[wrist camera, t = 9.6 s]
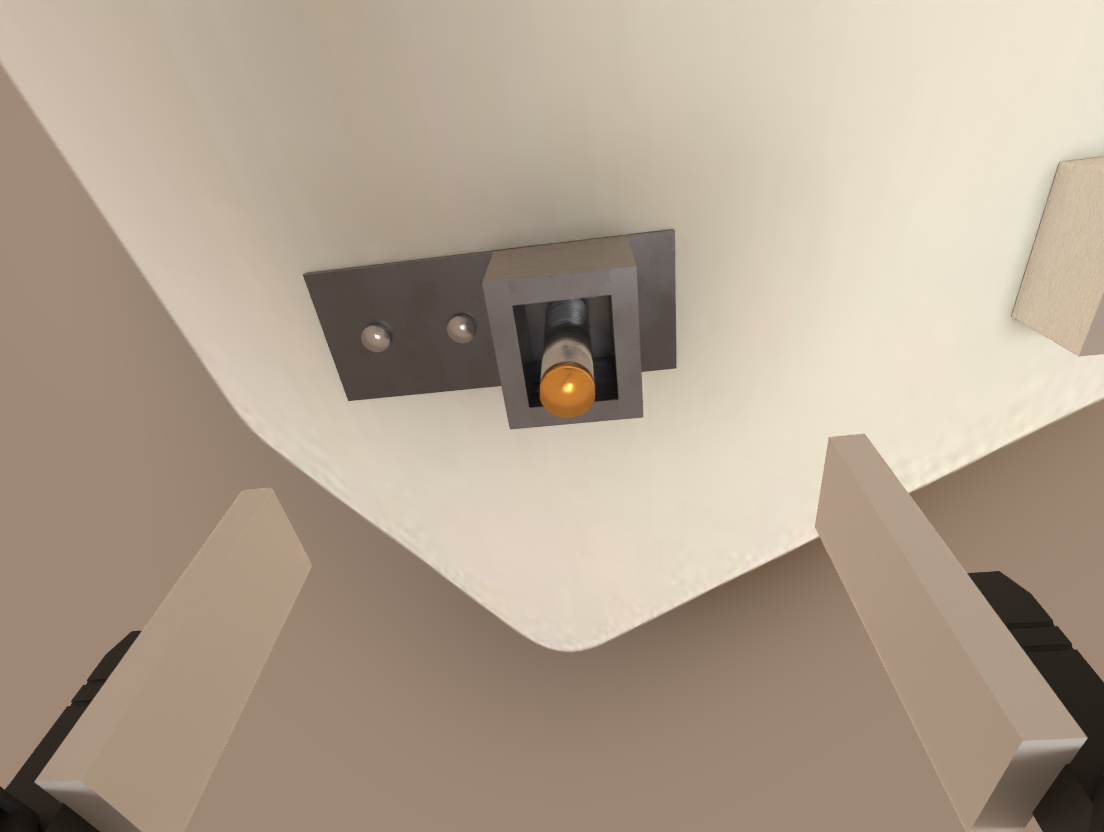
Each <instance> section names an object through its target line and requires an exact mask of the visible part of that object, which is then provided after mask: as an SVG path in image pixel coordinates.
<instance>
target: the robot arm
mask: <svg viewBox="0 0 1104 832" xmlns="http://www.w3.org/2000/svg"><path fill="white" fill-rule="evenodd" d="M815 528H816V530H817V532H818V534H819V536H820V538H821V540H822V542H823V544H824V546H825V548H826V550H827V552H828V554H829V556H830V558H831V560H832V562H833V564H834V566H835V568H836V570H837V572H838V575H839V577H840V578H841V581H842V583H843V585H844V587H845V589H846V590H847V592H848V595H849V597H850V599H851V600H852V603H853V605H854V607H855V609H856V611H857V613H858V615H859V617H860V619H861V621H862V623H863V625H864V627H865V629H866V631H867V633H868V635H869V637H870V639H871V641H872V643H873V645H874V647H875V649H876V651H877V653H878V655H879V657H880V659H881V661H882V663H883V665H884V667H885V669H886V671H887V674H888V675H889V678H890V680H891V682H892V684H893V686H894V688H895V690H896V692H897V694H898V696H899V698H900V700H901V702H902V704H903V706H904V708H905V710H906V712H907V713H908V716H909V718H910V720H911V722H912V724H913V726H914V728H915V730H916V732H917V734H918V736H919V738H920V740H921V742H922V744H923V746H924V748H925V750H926V752H927V754H928V756H929V758H930V760H931V762H932V764H933V766H934V769H935V771H936V773H937V775H938V777H939V779H940V780H941V783H942V785H943V787H944V789H945V791H946V793H947V795H948V797H949V799H950V801H951V803H952V805H953V807H954V809H955V811H956V813H957V815H958V817H959V818H960V821H961V823H962V825H963V827H964V829H965V831H966V832H1022V831H1023V830H1024V828H1025V827H1026V825H1027V824H1028V822H1029V821H1030V819H1031V818H1032V817H1033V816H1034V817H1035V819H1036V821H1037V823H1038V824H1039V826H1040V828H1041V829H1042V831H1043V832H1104V682H1103V681H1102V680H1101V679H1100V678H1099V676H1098V675H1097V674H1096V672H1095V671H1094V670H1093V669H1092V668H1091V666H1090V665H1089V664H1088V663H1087V661H1086V660H1085V659H1084V658H1083V657H1082V655H1081V654H1080V653H1079V652H1078V651H1077V650H1074V649H1073V648H1072V643H1071V642H1070V641H1069V640H1068V638H1067V637H1066V636H1065V635H1064V633H1063V632H1062V631H1061V630H1060V629H1059V627H1057V626H1056V627H1055V626H1054V624H1053V620H1052V619H1051V618H1050V616H1049V615H1048V614H1047V613H1046V612H1045V610H1044V609H1043V608H1042V607H1041V605H1040V604H1039V603H1038V602H1037V601H1036V599H1035V598H1034V597H1033V596H1032V594H1031V593H1029V592H1028V591H1026V590H1025V589H1024V588H1022V587H1021V586H1019V585H1018V584H1017V583H1015V582H1014V581H1012V580H1011V579H1010V578H1008V577H1007V576H1005V575H1004V574H1003V573H1001V572H1000V571H994V572H979V573H966V571H965V570H964V569H963V567H962V566H961V565H960V563H959V562H958V560H957V559H956V558H955V556H954V555H953V554H952V552H951V551H950V550H949V548H948V547H947V545H946V544H945V543H944V541H943V540H942V539H941V537H940V536H939V535H938V533H937V532H936V530H935V529H934V528H933V526H932V525H931V524H930V522H929V521H928V520H927V518H926V517H925V515H924V514H923V513H922V511H921V510H920V509H919V507H918V506H917V504H916V503H915V502H914V501H913V499H912V498H911V496H910V495H909V494H908V492H907V491H906V489H905V488H904V487H903V485H902V484H901V483H900V481H899V480H898V479H897V477H896V476H895V474H894V473H893V472H892V470H891V469H890V468H889V466H888V465H887V464H886V462H885V461H884V459H883V458H882V457H881V455H880V454H879V453H878V451H877V450H876V449H875V447H874V446H873V444H872V443H871V442H870V440H869V439H868V438H867V436H866V435H865V434H858V435H847V436H836V437H829V440H828V446H827V452H826V459H825V465H824V472H823V478H822V484H821V491H820V497H819V504H818V510H817V516H816V523H815ZM311 567H312V564H311V562H310V560H309V558H308V556H307V554H306V553H305V551H304V549H303V547H302V545H301V543H300V541H299V539H298V537H297V535H296V533H295V531H294V530H293V528H292V526H291V524H290V522H289V520H288V518H287V516H286V514H285V512H284V510H283V508H282V506H281V505H280V503H279V501H278V499H277V497H276V495H275V493H274V491H273V489H272V488H263V489H252V490H242V492H241V493H240V494H239V496H238V497H237V498H236V500H235V501H234V503H233V504H232V506H231V507H230V508H229V510H228V511H227V513H226V514H225V515H224V517H223V518H222V519H221V521H220V522H219V524H218V525H217V526H216V528H215V529H214V531H213V532H212V533H211V535H210V536H209V538H208V539H207V540H206V542H205V543H204V545H203V546H202V547H201V549H200V550H199V552H198V553H197V554H196V556H195V557H194V559H193V560H192V561H191V563H190V564H189V566H188V567H187V568H186V570H185V571H184V573H183V574H182V575H181V577H180V578H179V580H178V581H177V582H176V584H175V585H174V587H173V588H172V589H171V591H170V592H169V594H168V595H167V597H166V598H165V599H164V601H163V602H162V604H161V605H160V606H159V608H158V609H157V611H156V612H155V613H154V615H153V616H152V618H151V619H150V620H149V622H148V623H147V625H146V626H145V627H144V629H143V630H142V631H132V632H131V633H129V634H128V635H127V636H126V637H125V638H124V639H123V640H122V641H121V642H119V643H118V644H117V645H116V646H115V647H114V648H113V649H111V650H110V651H109V652H108V653H107V654H106V655H105V656H104V658H103V659H102V660H101V662H100V663H99V664H98V666H97V667H96V668H95V670H94V671H93V673H92V674H91V675H90V677H89V678H88V679H87V684H86V685H83V686H82V687H81V689H80V690H79V691H78V693H77V694H76V695H75V697H74V698H73V699H72V701H71V702H72V704H71V706H68V707H66V709H65V710H64V711H63V713H62V714H61V716H60V717H59V718H58V720H57V721H56V722H55V724H54V725H53V726H52V728H51V729H50V730H49V732H48V733H47V734H46V736H45V737H44V738H43V740H42V741H41V742H40V744H39V745H38V746H37V748H36V749H35V750H34V752H33V753H32V754H31V756H30V757H29V758H28V760H27V761H26V763H25V764H24V765H23V767H22V768H21V769H20V771H19V772H18V773H17V775H16V776H15V777H14V779H13V780H12V781H11V783H10V784H9V785H8V787H7V788H6V789H5V790H4V789H3V788H2V787H0V832H184V830H185V828H186V826H187V824H188V822H189V820H190V818H191V816H192V814H193V812H194V810H195V808H196V805H197V803H198V801H199V799H200V797H201V795H202V793H203V791H204V789H205V787H206V785H207V783H208V781H209V779H210V776H211V774H212V772H213V770H214V768H215V766H216V764H217V762H218V760H219V758H220V756H221V754H222V752H223V749H224V747H225V745H226V743H227V741H228V739H229V737H230V735H231V733H232V731H233V729H234V727H235V725H236V723H237V720H238V718H239V716H240V714H241V712H242V710H243V708H244V706H245V704H246V702H247V700H248V698H249V695H250V693H251V691H252V689H253V687H254V685H255V683H256V681H257V679H258V677H259V675H260V673H261V671H262V668H263V666H264V664H265V662H266V660H267V658H268V656H269V654H270V652H271V650H272V648H273V646H274V644H275V642H276V639H277V637H278V635H279V633H280V631H281V629H282V627H283V625H284V623H285V621H286V619H287V617H288V615H289V612H290V610H291V608H292V606H293V604H294V602H295V600H296V598H297V596H298V594H299V592H300V590H301V588H302V586H303V583H304V581H305V579H306V577H307V575H308V573H309V571H310V569H311Z"/></svg>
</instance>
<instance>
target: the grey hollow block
mask: <svg viewBox="0 0 1104 832" xmlns="http://www.w3.org/2000/svg"><path fill="white" fill-rule="evenodd" d="M482 286H483V291H484V296H485V302H486V307H487V312H488V317H489V322H490V328H491V333H492V338H493V343H494V349H495V354H496V359H497V364H498V370H499V375H500V380H501V385H502V391H503V396H504V401H505V406H506V411H507V417H508V422H509V427H510V429H519V428H530V427H541V426H552V425H563V424H574V423H586V422H597V421H608V420H619V419H630V418H641V417H643V399H642V376H641V354H640V332H639V309H638V287H637V266H636V263H635V260H634V257H633V254H632V251H631V248H630V244H629V241H628V238H627V236H622V237H613V238H605V239H596V240H587V241H579V242H570V243H561V244H553V245H544V246H535V247H527V248H518V249H510V250H501V251H494V252H493V255H492V257H491V260H490V263H489V266H488V268H487V271H486V274H485V277H484V279H483V282H482ZM604 295H608V306H609V319H610V333H611V346H612V356H606V357H596V358H592V360H593V372H594V384H595V399H594V402H593V404H592V406H591V407H590V409H589V410H588V411H586V412H585V413H584V414H582V415H580V416H577V417H573V418H562V417H558V416H555V415H553V414H551V413H550V412H548V411H547V410H546V409H545V408H544V406H543V405H542V403H541V400H540V382H541V369H542V363H536V364H534V361H533V355H532V348H531V342H530V335H529V329H528V322H527V316H526V309H525V304H530V303H539V302H549V301H558V300H567V299H577V298H586V297H595V296H604Z"/></svg>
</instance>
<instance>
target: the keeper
mask: <svg viewBox="0 0 1104 832" xmlns="http://www.w3.org/2000/svg"><path fill="white" fill-rule="evenodd" d="M622 236H627V238H628V241H629V244H630V248H631V251H632V254H633V257H634V260H635V263H636V266H637V287H638V309H639V332H640V354H641V372H644V371H654V370H664V369H674V368H676V305H675V231H674V229H672V230H663V231H655V232H647V233H638V234H630V235H622ZM622 236H613V237H622ZM613 237H605V238H613ZM605 238H597V239H605ZM588 240H596V239H588ZM580 241H587V240H580ZM571 242H579V241H571ZM563 243H570V242H563ZM555 244H561V243H555ZM546 245H553V244H546ZM538 246H544V245H538ZM530 247H535V246H530ZM521 248H527V247H521ZM513 249H518V248H513ZM505 250H510V249H505ZM496 251H501V250H496ZM493 252H494V251H488V252H480V253H471V254H463V255H454V256H446V257H438V258H429V259H421V260H413V261H404V262H396V263H388V264H379V265H371V266H362V267H354V268H346V269H337V270H329V271H321V272H312V273H305V274H304V275H303V276H304V279H305V282H306V285H307V287H308V290H309V293H310V296H311V299H312V301H313V304H314V307H315V310H316V312H317V315H318V318H319V321H320V324H321V326H322V329H323V332H324V335H325V337H326V340H327V343H328V346H329V348H330V351H331V354H332V357H333V360H334V362H335V365H336V368H337V371H338V373H339V376H340V379H341V382H342V385H343V387H344V390H345V393H346V396H347V398H348V401H353V400H363V399H373V398H383V397H393V396H404V395H414V394H424V393H434V392H444V391H454V390H464V389H474V388H484V387H494V386H502V385H501V380H500V375H499V370H498V364H497V359H496V354H495V349H494V343H493V338H492V333H491V328H490V322H489V317H488V312H487V307H486V302H485V296H484V291H483V286H482V282H483V279H484V277H485V274H486V271H487V268H488V266H489V263H490V260H491V257H492V255H493ZM525 309H526V316H527V322H528V329H529V335H530V342H531V348H532V355H533V361H534V364H536V363H542V369H541V382H540V400H541V403H542V405H543V406H544V408H545V409H546V410H547V411H548V412H550V413H551V414H553V415H555V416H558V417H562V418H573V417H577V416H580V415H582V414H584V413H585V412H586V411H588V410H589V409H590V407H591V406H592V404H593V402H594V399H595V384H594V372H593V360H592V358H596V357H606V356H612V346H611V333H610V319H609V306H608V295H604V296H595V297H586V298H577V299H567V300H558V301H549V302H539V303H530V304H525Z"/></svg>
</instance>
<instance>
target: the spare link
mask: <svg viewBox="0 0 1104 832" xmlns="http://www.w3.org/2000/svg"><path fill="white" fill-rule="evenodd" d="M1012 317H1013V318H1015V319H1017V320H1018V321H1020V322H1022V323H1023V324H1025V325H1027V326H1028V327H1030V328H1032V329H1034V330H1035V331H1037V332H1039V333H1040V334H1042V335H1044V336H1045V337H1047V338H1049V339H1050V340H1052V341H1054V342H1055V343H1057V344H1059V345H1060V346H1062V347H1064V348H1065V349H1067V350H1069V351H1070V352H1072V353H1074V354H1075V355H1077V356H1088V355H1098V354H1104V157H1097V158H1089V159H1081V160H1073V161H1065V162H1060V163H1059V166H1058V169H1057V172H1056V176H1055V179H1054V182H1053V185H1052V188H1051V192H1050V195H1049V198H1048V201H1047V204H1046V208H1045V211H1044V214H1043V217H1042V220H1041V224H1040V227H1039V230H1038V233H1037V236H1036V240H1035V243H1034V246H1033V249H1032V252H1031V256H1030V259H1029V262H1028V265H1027V268H1026V271H1025V275H1024V278H1023V281H1022V284H1021V287H1020V291H1019V294H1018V297H1017V300H1016V303H1015V307H1014V310H1013V313H1012Z"/></svg>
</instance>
